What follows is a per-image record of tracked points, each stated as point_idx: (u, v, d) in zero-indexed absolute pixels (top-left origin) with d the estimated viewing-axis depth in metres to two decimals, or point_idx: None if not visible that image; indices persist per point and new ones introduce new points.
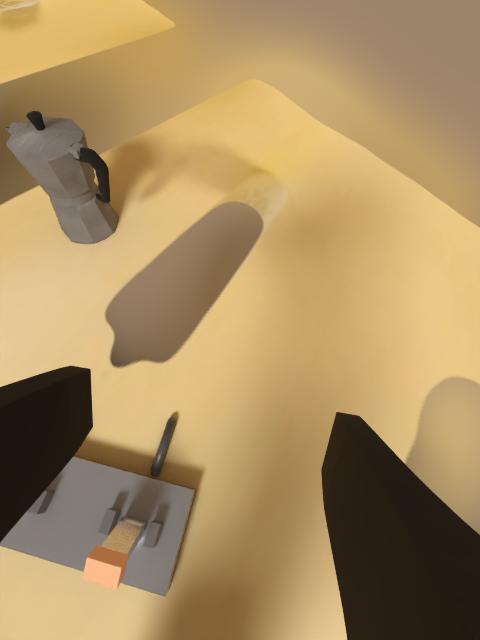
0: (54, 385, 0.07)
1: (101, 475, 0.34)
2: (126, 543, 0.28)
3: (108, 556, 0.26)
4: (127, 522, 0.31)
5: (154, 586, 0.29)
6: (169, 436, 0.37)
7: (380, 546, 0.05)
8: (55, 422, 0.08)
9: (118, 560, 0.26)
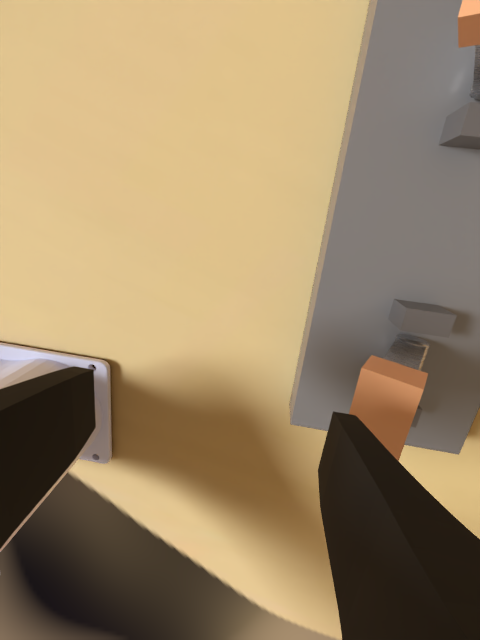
0: (58, 386, 0.07)
1: None
2: None
3: None
4: (421, 363, 0.14)
5: (303, 406, 0.17)
6: None
7: (374, 545, 0.05)
8: (58, 423, 0.08)
9: None
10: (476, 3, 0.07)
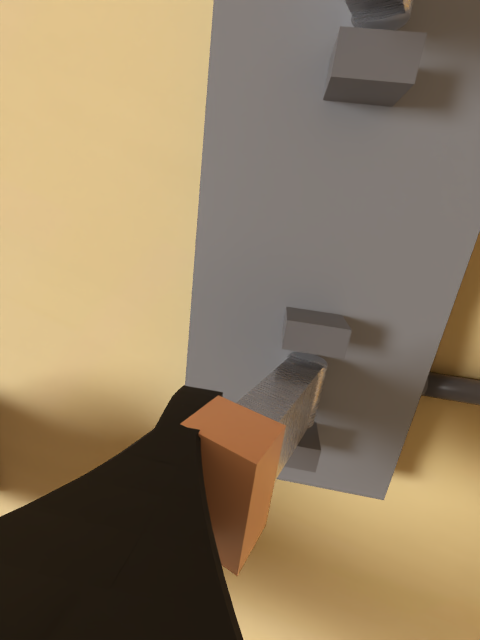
0: None
1: (436, 259, 0.10)
2: (282, 458, 0.09)
3: (261, 501, 0.07)
4: (316, 391, 0.11)
5: None
6: None
7: None
8: None
9: (253, 535, 0.07)
10: None
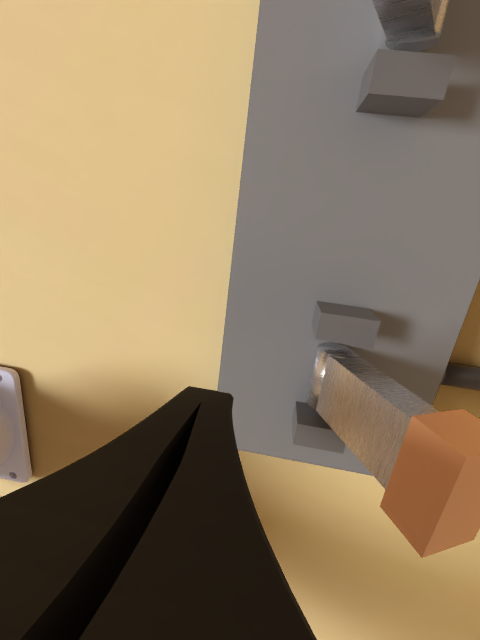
0: (195, 411, 0.07)
1: (457, 256, 0.11)
2: None
3: None
4: None
5: None
6: None
7: None
8: None
9: None
10: None
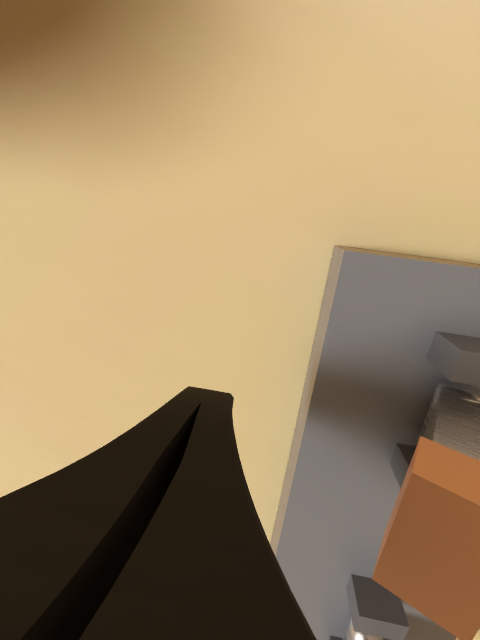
0: (195, 410, 0.07)
1: None
2: None
3: None
4: None
5: None
6: None
7: None
8: None
9: None
10: (388, 582, 0.07)
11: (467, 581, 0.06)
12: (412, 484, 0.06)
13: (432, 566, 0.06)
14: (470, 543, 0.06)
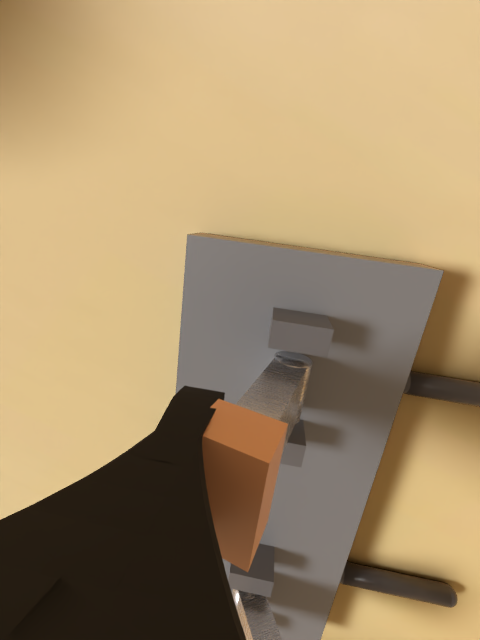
0: None
1: (336, 522, 0.14)
2: None
3: None
4: None
5: None
6: None
7: None
8: None
9: None
10: None
11: (237, 517, 0.07)
12: None
13: (215, 510, 0.07)
14: (233, 483, 0.06)
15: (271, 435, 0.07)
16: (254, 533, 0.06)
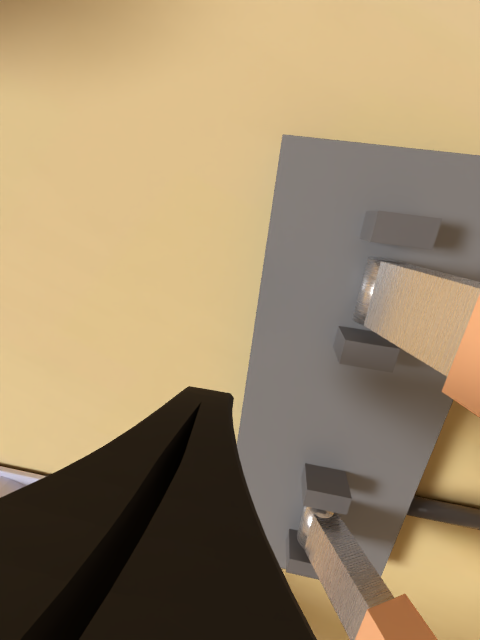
0: (195, 411, 0.07)
1: (412, 443, 0.14)
2: None
3: None
4: None
5: None
6: (479, 529, 0.17)
7: None
8: None
9: None
10: None
11: None
12: None
13: None
14: None
15: None
16: None
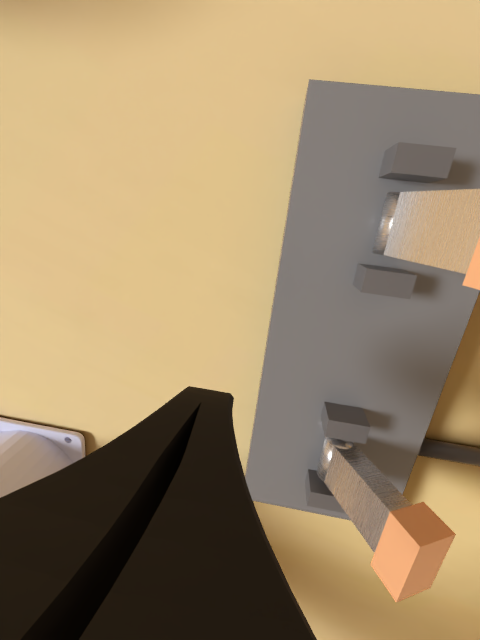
0: (195, 410, 0.07)
1: (425, 377, 0.15)
2: None
3: None
4: None
5: (252, 484, 0.19)
6: None
7: None
8: None
9: None
10: None
11: None
12: None
13: None
14: None
15: None
16: None
